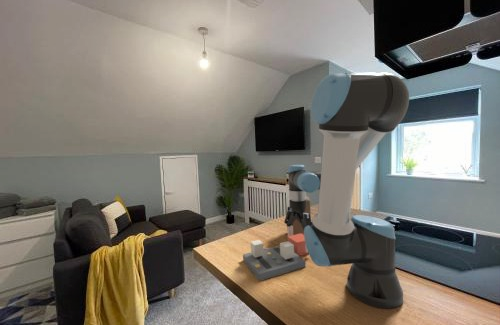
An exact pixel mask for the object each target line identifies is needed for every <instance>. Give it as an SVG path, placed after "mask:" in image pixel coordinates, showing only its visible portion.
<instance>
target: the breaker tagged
mask: <svg viewBox="0 0 500 325" xmlns="http://www.w3.org/2000/svg"><path fill="white" fill-rule="evenodd" d="M264 246H265V245H264V242H263V241H262V240H260V239H257V240H252V241H250V253H251V254H252V255H253V256H254V257H259V256H263V255H264V249H265V248H264Z"/></svg>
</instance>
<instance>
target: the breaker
mask: <svg viewBox="0 0 500 325" xmlns="http://www.w3.org/2000/svg"><path fill="white" fill-rule="evenodd" d="M279 246H280V255H281V256H282V257H283V258H284V259H290V258H293V257H294V245H293V244H292V243H290V242H289V241H288V240H287V241H282V242H279Z"/></svg>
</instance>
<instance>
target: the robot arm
mask: <svg viewBox="0 0 500 325" xmlns="http://www.w3.org/2000/svg"><path fill="white" fill-rule="evenodd" d="M409 103H410V92H409V89H408V86H407V84H406V82H404V80H403V79H402V78H400V77H399V76H397V75H395V74H393V73H388V72H377V73H376V72H341V73H339V72H338V73H332V74H331V73H330V74H328V75H326V76H325V77H323V78H322V79H321V80H320V82H319V83H318V85H317V86H316V87H315V90H314V93H313V96H312V101H311V108H310V109H311V117H312V118H311V119H312V120H313V122H315V123H316V124H318V131H319V132H320V133H321V134H322V135H323V147H322V159H321V170H317V171H314V170H313V171H307V169H306V166H305V165H304V164H291V165H289V166H288V171H287V174H288V198H289V204H288V206H287V210H286V214H285V217H284V221H283V222H284V224H285V225H286V227H287V236H291V235H293V226H291V225H292V224H293V222H294V221H295V219H297V220H298V221H299V223H301V225H302V227H303V230H304V239H305V247H306V253H307V252H308V253H307V254H308V255H309V257H310V260H312V262H313V263H314V264H315V265H316V266H317V267H328V268H330V267H333V266H341V265H350V268H349V271H348V274H347V278H346V287H347V290H348V291H349V293H350V294H351V295H352V296H353V297H354V298H355V299H357V300H358V301H360V302H362V303H364V304H366V305H368V306H372V307H374V308H378V309H379V308H380V309H396V308H398V307H400V306H402V304H403V302H404V292H403V291H404V290H403V288H402V286H401V284H400V280H399V277H398V275H397V271H396V239H397V237H396V233H395V227H394V226H393V224H392V223H391V222H390V221H388V220H385V219H382V218H379V217H374V216H370V215H364V214H362V215H361V214H355V215H352V216H350V215H351V210H352V203H353V202H352V200H353V195H354V186H355V178H356V171H357V169H358V168H359V167H360V165H361V164H362V163H363V162H364V161H365V159H367V157H368V156H369V155H370V153H372V151H373V150H374V149H375V147H376V146H377V145H378V144H379V142H380V141H381V140H382V139H383V138H384V137H385V135H386V134H390V133H392V132H393V131H394V130H395V129H396V128H397V127H398V126H399V124H401V122H402V121H403V119H404V117H405V116H406V113H407V111H408V108H409ZM317 191H319V195H318V197H319V198H318V207H317V208H318V210H317V213H316V214H314V215H313V216H312V217H311V218H310V213H305V209H306V207H307V204H306V200H305V199H306V196H307V193H314V192H317ZM350 218H351V219H350ZM303 219H304V220H303Z"/></svg>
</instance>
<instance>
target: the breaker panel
mask: <svg viewBox="0 0 500 325" xmlns="http://www.w3.org/2000/svg"><path fill="white" fill-rule="evenodd" d="M242 261H243V262H244V263H245V265H246V266H247V267H248V268H249V270H250V271H251V273H253V275H254V276H255V278H256V279H257V280H258V281H259V282H261V281H263V280H267V279H270V278H274V277H277V276H280V275H284V274H287V273H290V272H292V271H296V270H300V269H303V268H306V260H305V259H304V258H303V257H301V255H300V256H298V255H297V254H296V253H294V257H293V258H290V259H284V258H283V257H282V256H281V255H280V245H277V246H272V247H268V248H264V255H263V256H259V257H254V256H253V255H252V254H251V252H248V253H243V254H242Z"/></svg>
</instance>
